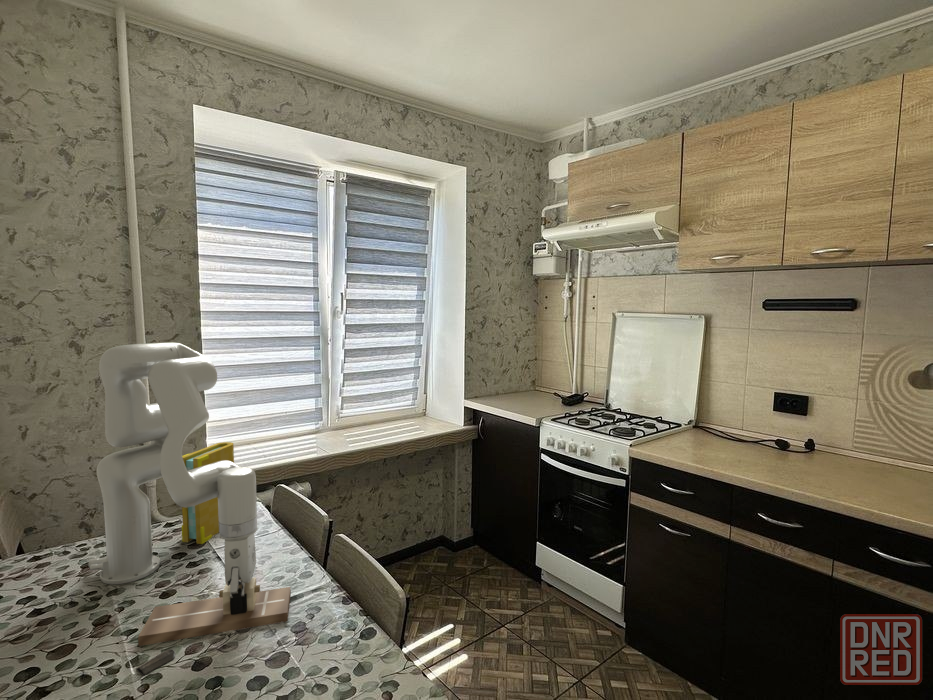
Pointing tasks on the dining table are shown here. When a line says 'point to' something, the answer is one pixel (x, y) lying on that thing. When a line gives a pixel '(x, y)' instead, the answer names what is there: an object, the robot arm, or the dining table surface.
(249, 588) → the cream knobbed box
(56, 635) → the dining table surface
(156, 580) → the dining table surface
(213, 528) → the book
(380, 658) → the dining table surface
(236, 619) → the board
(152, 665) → the block
